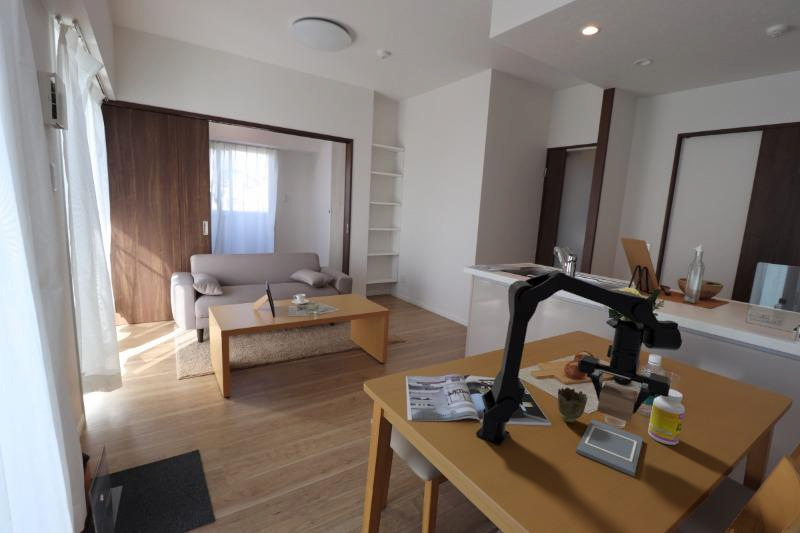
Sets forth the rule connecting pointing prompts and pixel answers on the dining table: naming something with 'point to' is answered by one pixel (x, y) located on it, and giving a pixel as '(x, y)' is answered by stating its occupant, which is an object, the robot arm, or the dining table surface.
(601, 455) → the slate board
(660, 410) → the supplement bottle
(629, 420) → the walnut block
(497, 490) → the dining table surface
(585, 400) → the cup
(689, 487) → the dining table surface
